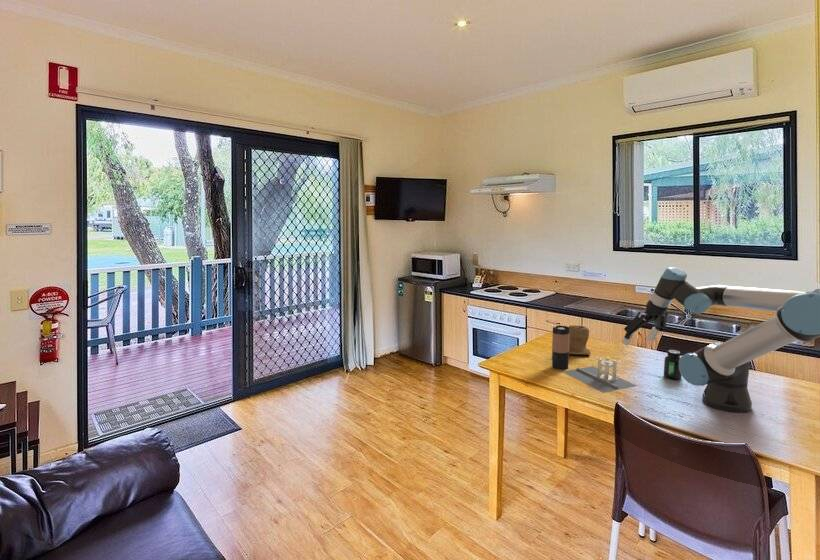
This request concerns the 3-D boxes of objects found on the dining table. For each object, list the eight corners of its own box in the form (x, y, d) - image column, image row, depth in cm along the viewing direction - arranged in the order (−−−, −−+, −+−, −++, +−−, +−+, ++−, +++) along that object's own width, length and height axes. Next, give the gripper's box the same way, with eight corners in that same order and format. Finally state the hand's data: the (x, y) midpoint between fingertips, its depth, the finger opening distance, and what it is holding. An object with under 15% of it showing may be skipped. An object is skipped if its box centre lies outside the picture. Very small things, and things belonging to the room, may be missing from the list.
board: (637, 386, 181) (637, 383, 181) (603, 393, 175) (603, 390, 175) (593, 366, 205) (593, 364, 205) (561, 372, 200) (561, 369, 199)
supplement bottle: (672, 381, 185) (674, 354, 184) (659, 375, 192) (661, 349, 190) (685, 379, 187) (687, 352, 186) (671, 373, 194) (673, 348, 192)
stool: (617, 380, 187) (618, 360, 186) (606, 382, 185) (607, 362, 184) (606, 375, 193) (607, 356, 192) (596, 377, 191) (596, 358, 190)
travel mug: (569, 371, 201) (570, 329, 198) (552, 370, 202) (553, 329, 199) (567, 365, 208) (568, 325, 205) (550, 364, 210) (551, 325, 207)
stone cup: (588, 350, 230) (589, 323, 228) (592, 357, 218) (593, 329, 216) (558, 349, 233) (559, 322, 231) (561, 356, 222) (561, 328, 220)
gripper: (675, 294, 179) (653, 332, 190) (628, 299, 171) (608, 339, 182) (689, 305, 173) (665, 344, 185) (641, 311, 165) (620, 351, 177)
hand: (637, 341), depth 184 cm, fingers open, 13 cm apart
